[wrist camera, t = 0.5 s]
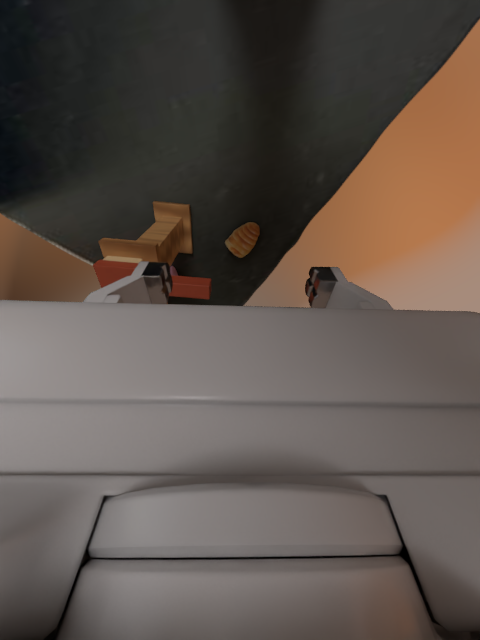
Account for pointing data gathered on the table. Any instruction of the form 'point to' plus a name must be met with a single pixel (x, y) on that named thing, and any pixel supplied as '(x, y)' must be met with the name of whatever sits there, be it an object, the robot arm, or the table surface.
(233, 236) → the pastry
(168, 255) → the stand
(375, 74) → the table surface
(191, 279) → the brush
